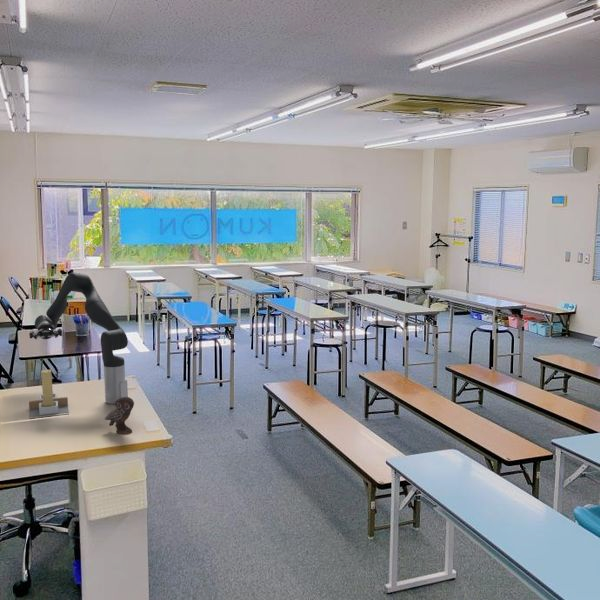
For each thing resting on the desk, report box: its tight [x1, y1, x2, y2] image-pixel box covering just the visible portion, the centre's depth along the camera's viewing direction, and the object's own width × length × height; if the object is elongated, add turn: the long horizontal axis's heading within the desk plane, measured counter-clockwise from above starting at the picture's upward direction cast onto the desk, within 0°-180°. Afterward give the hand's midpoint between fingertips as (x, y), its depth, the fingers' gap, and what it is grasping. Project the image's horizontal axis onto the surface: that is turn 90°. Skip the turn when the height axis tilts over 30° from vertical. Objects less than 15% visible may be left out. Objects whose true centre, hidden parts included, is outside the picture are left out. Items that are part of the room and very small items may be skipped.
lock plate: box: [28, 392, 70, 420], centre depth 281 cm, size 24×16×4 cm, turn 22°
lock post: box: [40, 369, 54, 407], centre depth 274 cm, size 4×4×18 cm
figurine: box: [104, 396, 135, 435], centre depth 251 cm, size 13×6×15 cm, turn 65°
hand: (46, 336), depth 290 cm, fingers open, 8 cm apart
